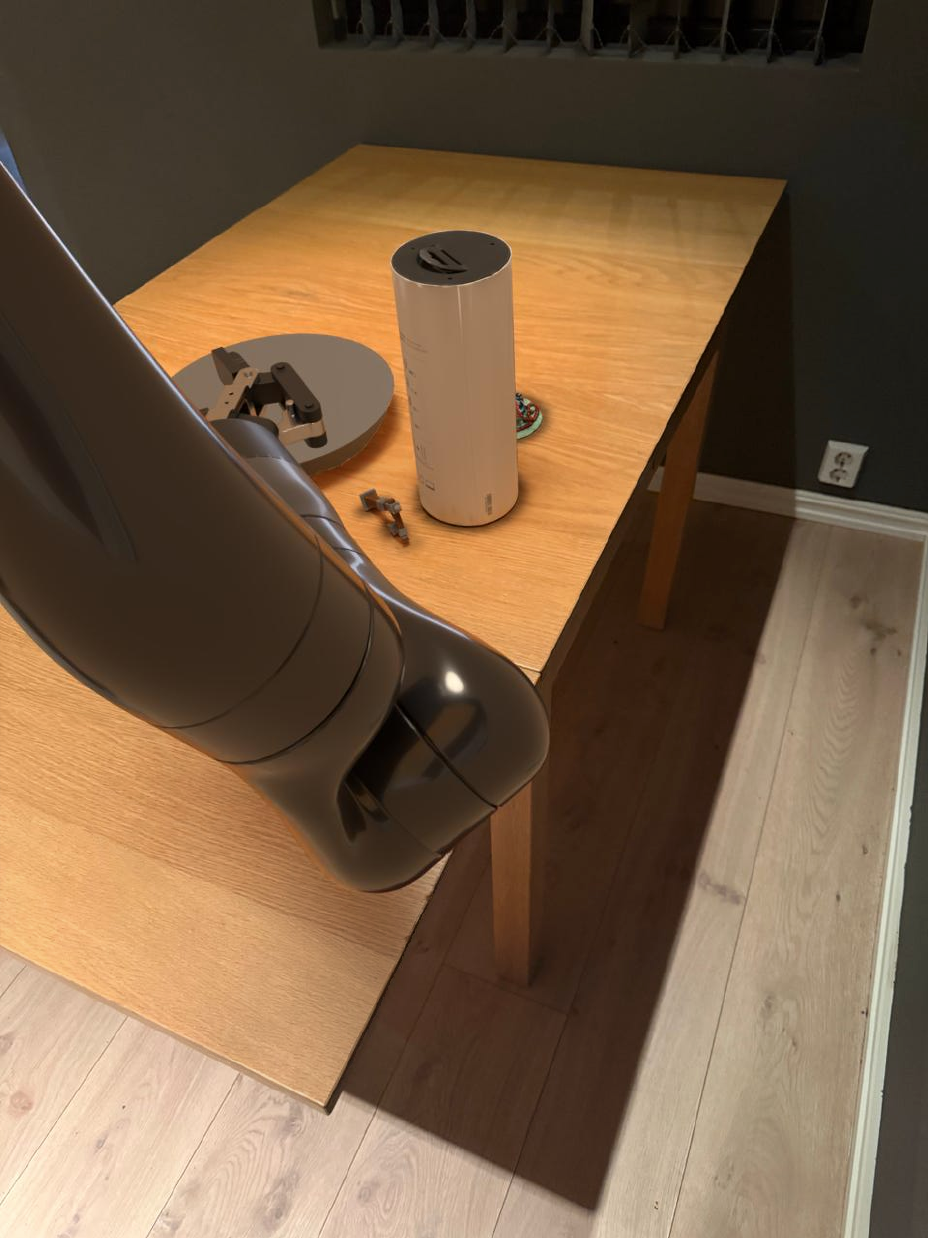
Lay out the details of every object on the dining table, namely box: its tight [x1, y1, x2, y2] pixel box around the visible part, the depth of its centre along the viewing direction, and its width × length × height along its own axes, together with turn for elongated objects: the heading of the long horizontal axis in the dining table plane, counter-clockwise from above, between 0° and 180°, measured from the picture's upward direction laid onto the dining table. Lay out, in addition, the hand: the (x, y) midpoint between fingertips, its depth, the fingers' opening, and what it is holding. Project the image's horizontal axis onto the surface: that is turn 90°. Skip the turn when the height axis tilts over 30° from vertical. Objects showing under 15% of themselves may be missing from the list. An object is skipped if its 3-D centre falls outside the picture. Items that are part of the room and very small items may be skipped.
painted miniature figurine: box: [516, 392, 543, 440], centre depth 101 cm, size 8×7×8 cm
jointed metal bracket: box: [358, 487, 410, 543], centre depth 89 cm, size 2×8×4 cm, turn 32°
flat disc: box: [170, 332, 395, 477], centre depth 101 cm, size 28×28×4 cm
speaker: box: [389, 229, 519, 527], centre depth 83 cm, size 11×10×26 cm
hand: (153, 384), depth 53 cm, fingers open, 8 cm apart
